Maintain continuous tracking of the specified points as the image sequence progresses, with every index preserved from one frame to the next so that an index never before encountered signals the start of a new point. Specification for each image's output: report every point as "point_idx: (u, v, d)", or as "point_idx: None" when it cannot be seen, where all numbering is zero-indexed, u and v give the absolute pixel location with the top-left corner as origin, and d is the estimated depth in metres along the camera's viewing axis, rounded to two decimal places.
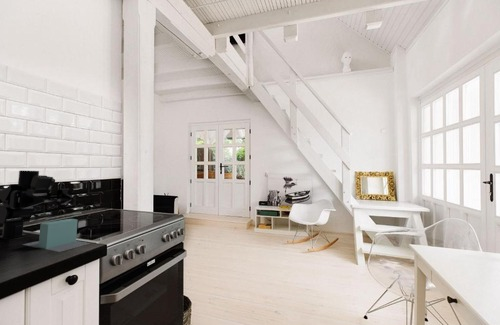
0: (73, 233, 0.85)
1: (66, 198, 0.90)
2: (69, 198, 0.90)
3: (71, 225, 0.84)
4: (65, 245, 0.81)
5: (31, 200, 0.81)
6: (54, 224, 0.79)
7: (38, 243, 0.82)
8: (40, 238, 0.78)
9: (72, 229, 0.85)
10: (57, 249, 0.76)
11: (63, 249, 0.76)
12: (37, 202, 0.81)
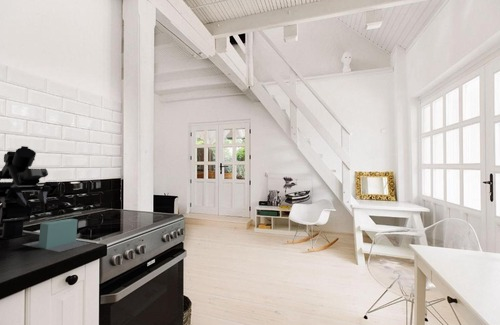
0: (73, 233, 0.85)
1: (41, 199, 0.91)
2: (43, 202, 0.90)
3: (71, 225, 0.84)
4: (65, 245, 0.81)
5: (17, 197, 0.85)
6: (54, 224, 0.79)
7: (38, 243, 0.82)
8: (40, 238, 0.78)
9: (72, 229, 0.85)
10: (57, 249, 0.76)
11: (63, 249, 0.76)
12: (20, 203, 0.85)
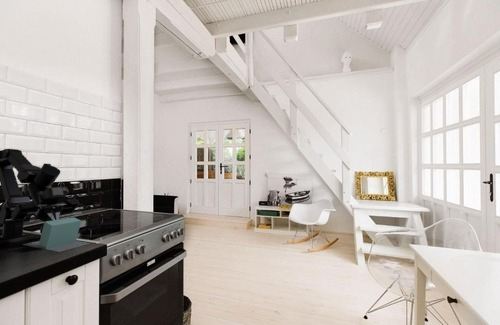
0: (74, 234, 0.85)
1: None
2: None
3: (74, 226, 0.84)
4: (65, 245, 0.81)
5: (47, 217, 0.82)
6: (57, 225, 0.78)
7: (38, 243, 0.82)
8: (42, 236, 0.78)
9: (74, 230, 0.84)
10: (57, 249, 0.76)
11: (63, 249, 0.76)
12: None
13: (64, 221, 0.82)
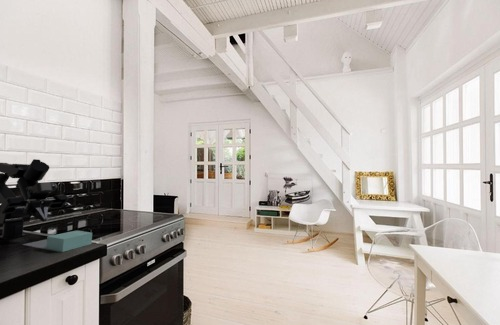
0: None
1: None
2: None
3: None
4: None
5: (35, 211, 0.85)
6: None
7: (38, 243, 0.82)
8: (53, 239, 0.76)
9: None
10: None
11: None
12: (38, 218, 0.85)
13: (78, 242, 0.79)
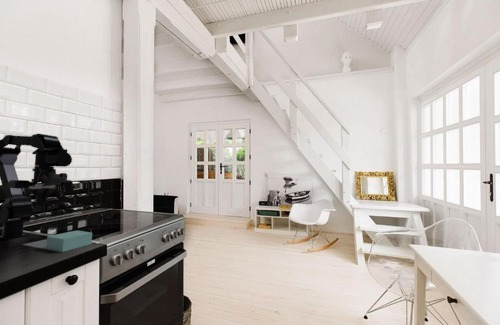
0: None
1: None
2: None
3: None
4: None
5: (37, 194, 0.89)
6: None
7: (38, 243, 0.82)
8: (53, 239, 0.76)
9: None
10: None
11: None
12: (37, 200, 0.89)
13: (78, 242, 0.79)
